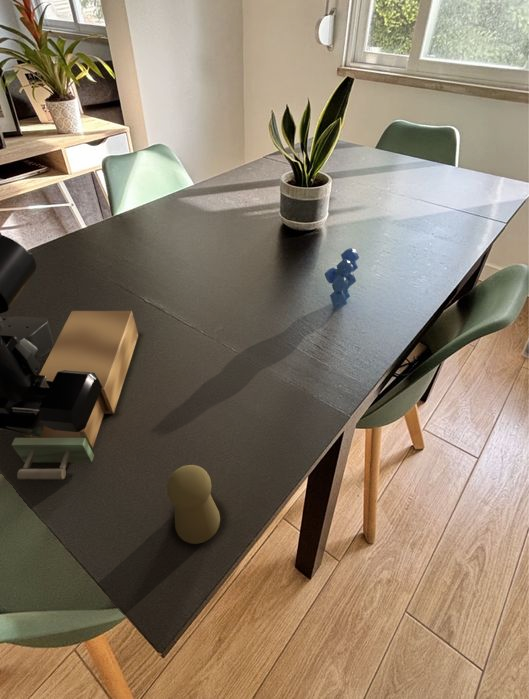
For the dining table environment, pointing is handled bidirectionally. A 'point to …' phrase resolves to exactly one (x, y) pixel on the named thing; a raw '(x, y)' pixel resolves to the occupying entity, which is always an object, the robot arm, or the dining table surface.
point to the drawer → (59, 446)
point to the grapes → (342, 277)
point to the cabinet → (96, 349)
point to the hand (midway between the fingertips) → (38, 432)
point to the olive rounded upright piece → (193, 504)
